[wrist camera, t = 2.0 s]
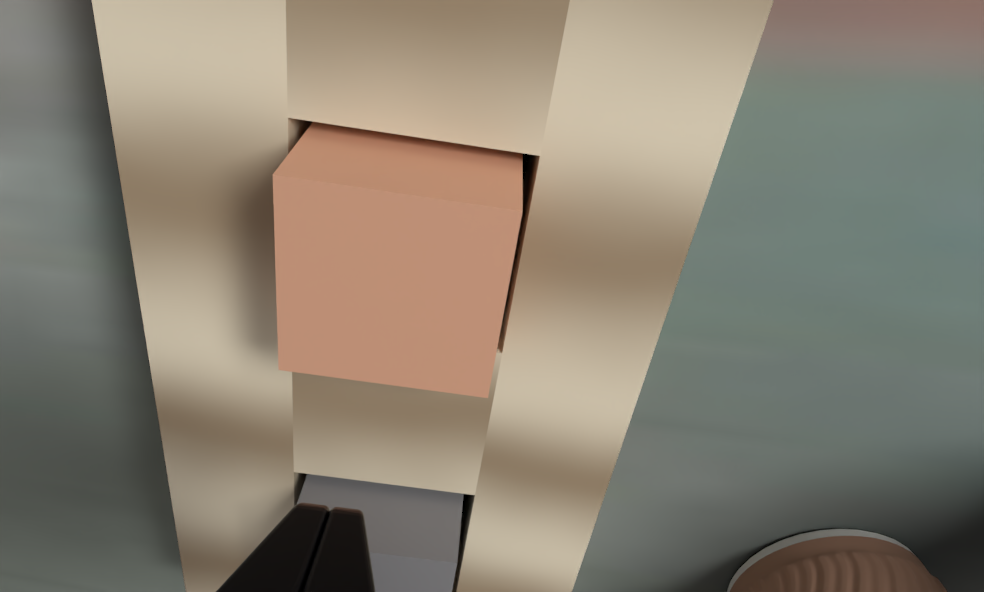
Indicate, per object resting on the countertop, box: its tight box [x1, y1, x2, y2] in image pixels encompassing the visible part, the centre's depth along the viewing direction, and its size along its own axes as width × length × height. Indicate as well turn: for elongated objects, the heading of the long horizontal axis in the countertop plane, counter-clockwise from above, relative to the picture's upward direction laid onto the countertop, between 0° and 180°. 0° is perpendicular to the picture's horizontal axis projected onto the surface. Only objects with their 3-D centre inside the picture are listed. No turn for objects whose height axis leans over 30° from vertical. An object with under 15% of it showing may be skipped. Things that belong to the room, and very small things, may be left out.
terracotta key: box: [273, 122, 523, 398], centre depth 15 cm, size 4×4×4 cm
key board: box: [92, 0, 774, 592], centre depth 16 cm, size 30×12×3 cm, turn 172°
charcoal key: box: [297, 474, 464, 592], centre depth 20 cm, size 4×4×4 cm
